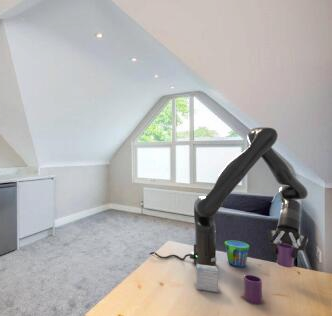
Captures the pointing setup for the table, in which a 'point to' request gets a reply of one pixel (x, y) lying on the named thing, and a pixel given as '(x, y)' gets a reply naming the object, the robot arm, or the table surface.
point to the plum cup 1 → (253, 289)
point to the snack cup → (237, 252)
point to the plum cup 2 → (285, 255)
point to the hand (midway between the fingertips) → (284, 255)
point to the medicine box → (207, 277)
